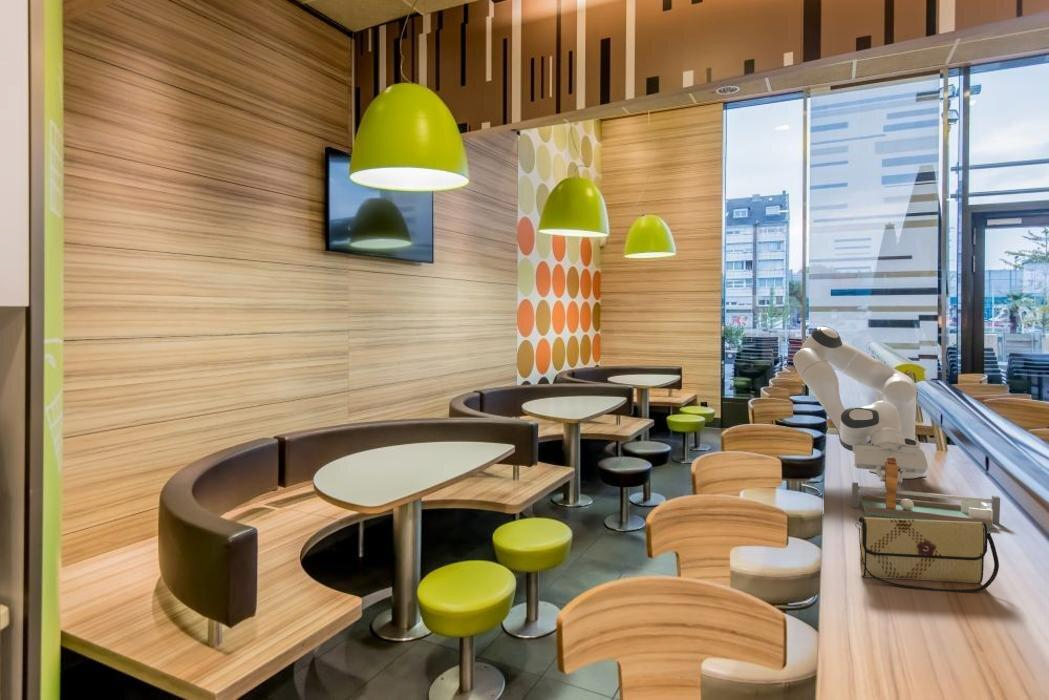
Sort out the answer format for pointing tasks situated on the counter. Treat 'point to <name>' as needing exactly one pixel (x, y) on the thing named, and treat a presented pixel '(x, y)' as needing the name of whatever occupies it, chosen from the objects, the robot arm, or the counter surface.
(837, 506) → the counter surface
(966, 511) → the pitch
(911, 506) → the ball
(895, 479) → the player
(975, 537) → the clutch purse
